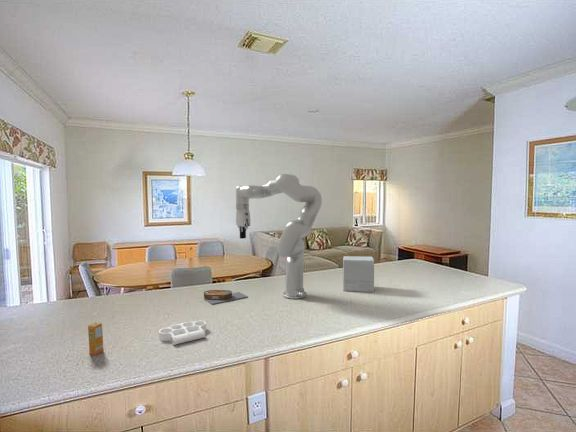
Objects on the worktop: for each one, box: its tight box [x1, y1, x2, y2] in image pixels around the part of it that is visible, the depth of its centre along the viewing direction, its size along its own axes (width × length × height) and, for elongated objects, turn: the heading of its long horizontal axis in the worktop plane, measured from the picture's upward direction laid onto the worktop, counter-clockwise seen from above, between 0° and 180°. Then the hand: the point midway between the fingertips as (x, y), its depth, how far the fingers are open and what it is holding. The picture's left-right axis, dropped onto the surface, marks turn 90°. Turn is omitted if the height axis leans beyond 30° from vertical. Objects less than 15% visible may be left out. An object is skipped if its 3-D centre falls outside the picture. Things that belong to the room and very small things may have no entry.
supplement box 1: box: [87, 322, 104, 356], centre depth 111 cm, size 3×3×10 cm
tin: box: [203, 289, 233, 300], centre depth 172 cm, size 15×3×8 cm
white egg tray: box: [158, 320, 207, 346], centre depth 125 cm, size 3×18×15 cm
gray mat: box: [204, 291, 249, 306], centre depth 171 cm, size 10×20×1 cm, turn 126°
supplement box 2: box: [342, 255, 375, 293], centre depth 189 cm, size 17×13×18 cm
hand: (242, 238), depth 192 cm, fingers closed
